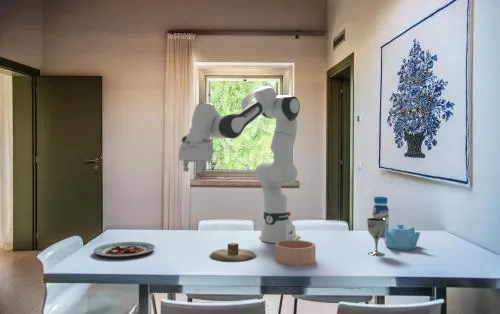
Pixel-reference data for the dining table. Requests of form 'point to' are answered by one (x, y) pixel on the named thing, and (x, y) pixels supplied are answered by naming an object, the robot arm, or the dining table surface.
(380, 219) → the wine glass
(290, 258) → the bowl
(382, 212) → the beverage bottle
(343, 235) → the dining table surface
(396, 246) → the teapot
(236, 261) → the tray
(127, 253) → the ceramic plate
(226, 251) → the lid
